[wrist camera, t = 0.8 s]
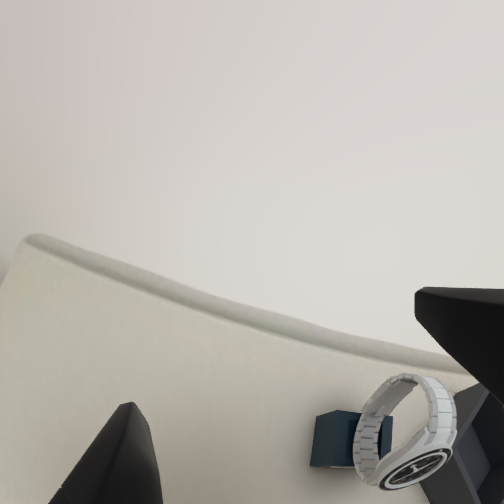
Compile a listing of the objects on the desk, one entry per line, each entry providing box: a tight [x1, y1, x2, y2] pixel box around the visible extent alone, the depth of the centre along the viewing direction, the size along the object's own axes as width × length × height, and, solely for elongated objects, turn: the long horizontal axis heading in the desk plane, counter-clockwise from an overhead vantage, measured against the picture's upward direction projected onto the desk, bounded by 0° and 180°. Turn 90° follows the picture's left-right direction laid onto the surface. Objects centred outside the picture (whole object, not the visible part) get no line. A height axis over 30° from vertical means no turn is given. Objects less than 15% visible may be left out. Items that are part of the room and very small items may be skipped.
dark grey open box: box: [420, 383, 504, 504], centre depth 19 cm, size 14×12×6 cm
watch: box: [310, 373, 457, 491], centre depth 17 cm, size 6×8×11 cm
